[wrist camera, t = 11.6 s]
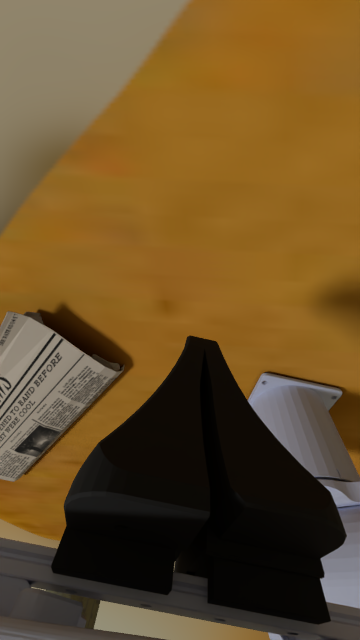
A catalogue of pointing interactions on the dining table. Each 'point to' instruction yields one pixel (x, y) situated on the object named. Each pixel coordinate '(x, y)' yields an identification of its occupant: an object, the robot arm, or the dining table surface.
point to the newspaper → (41, 389)
